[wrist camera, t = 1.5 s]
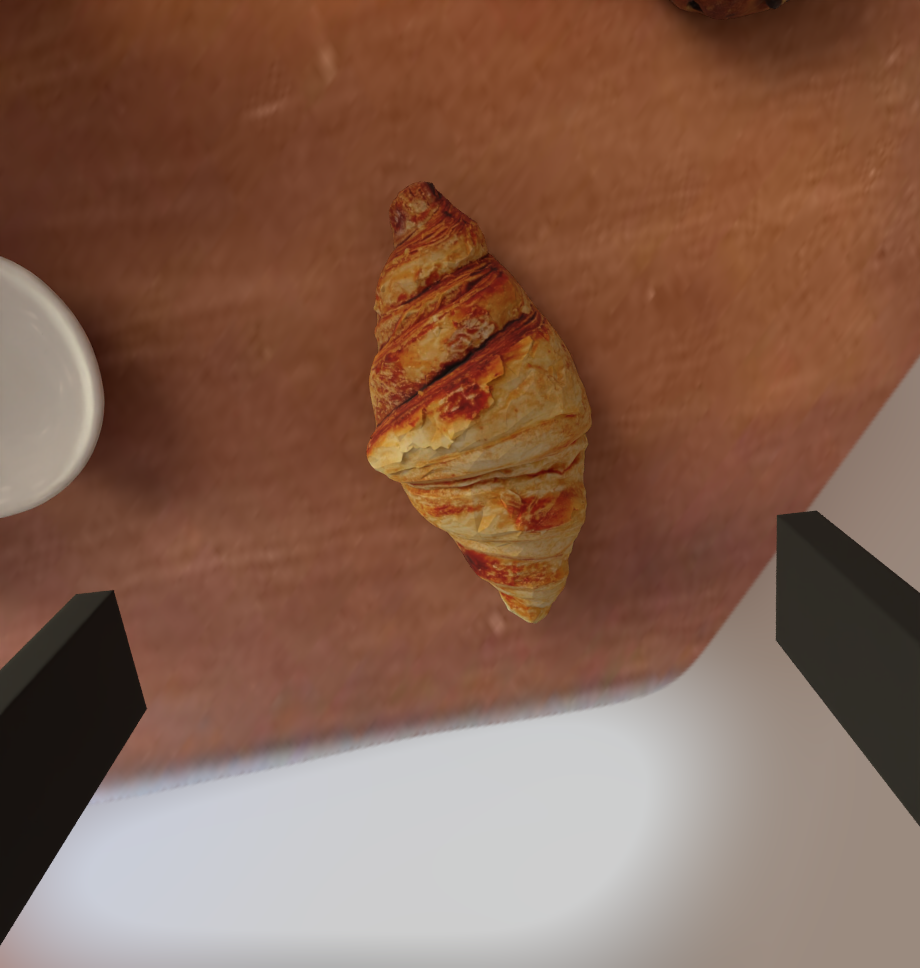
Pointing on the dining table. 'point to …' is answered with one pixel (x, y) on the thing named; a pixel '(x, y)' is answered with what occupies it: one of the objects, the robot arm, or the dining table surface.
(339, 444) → the dining table surface
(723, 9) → the bread roll
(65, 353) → the spoon rest
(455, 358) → the croissant
